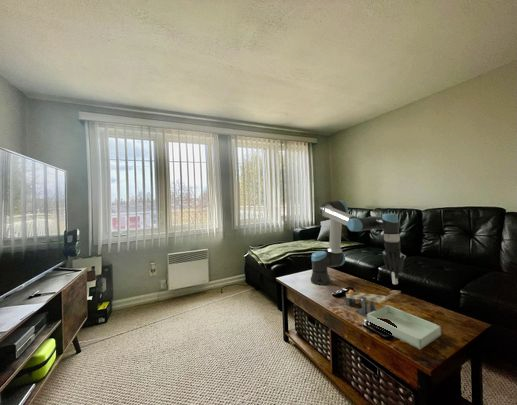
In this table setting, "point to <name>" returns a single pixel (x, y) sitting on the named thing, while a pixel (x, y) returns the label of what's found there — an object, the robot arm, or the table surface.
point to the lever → (372, 296)
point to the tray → (406, 326)
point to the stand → (365, 308)
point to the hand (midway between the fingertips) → (395, 283)
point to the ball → (351, 292)
